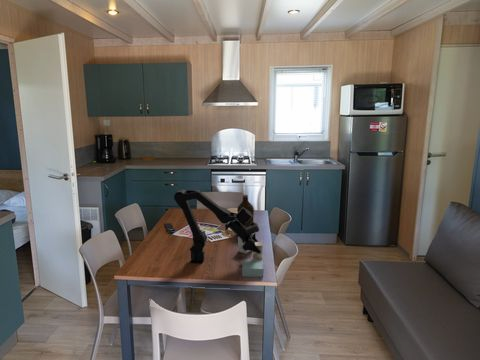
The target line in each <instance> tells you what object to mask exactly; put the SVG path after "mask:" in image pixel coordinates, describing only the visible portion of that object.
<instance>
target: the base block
mask: <svg viewBox="0 0 480 360" xmlns="http://www.w3.org/2000/svg"><path fill="white" fill-rule="evenodd" d="M242 261H243V262H242V266H241V275H242V277H255V278H256V277H259V278H260V277H261V278H262V277H264V260H253V259H243V260H242Z"/></svg>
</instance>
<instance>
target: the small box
mask: <svg viewBox="0 0 480 360" xmlns="http://www.w3.org/2000/svg"><path fill="white" fill-rule="evenodd" d="M253 234H254V233H253ZM237 245H238V246H237V251H238V252H239V253H242V254H248V253H250V252H251V251H250V250H246V251H245V250H244V249H243V247H242V246H243V242H242V240H241V239H240V238H239V237H237Z"/></svg>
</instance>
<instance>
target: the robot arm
mask: <svg viewBox="0 0 480 360" xmlns="http://www.w3.org/2000/svg"><path fill="white" fill-rule="evenodd" d="M173 199H174V201H175V203H176V204H177V205H178V207H179V208H180V209H181V210H182V213H183V215H184V218H185V220H186V222H187V224H188V226H189V230H190V232H191V235H192V242H193V243H192V244H191V246H190V248H189V251H190V261H189V262H190V264H191V263H192V264H202V263H203V262H204V261H205V255H206V253H205V251H204V247H205V246H206V244H207V241H208V236H207V234H206V231H205V230H203V231H202V230H201V228H200V227H199V224H198V222H197V219H196V217H195V214H194V212H193V210H192V208H191V205H190V201H191V200H197V201H198V202H199V203H201V205H203V206H205V207H206V208H207V209H209V211H211V212H212V213H213V214H214V215H215V217H216V218H217V220H219V222H220V223H221V224H224V227H225V228H224V229H225V231H227V230H228V229H230V230H231V231H232V232H233V233H234V234H235V236H236V238H238V237H239V238H240V239H241V240H242V242H243V246H242V247H243V249H244V250H245V251H246V250H250V252H252V253H253V252H256V253H259V254H260V253H261V251H260V250H259V249H258V247H257V246H256V245H255V242H259V241H258V239H257V238H256V233H258V232H260V227H259V224H258V223H257V222H255V221H253V222H251V226H249V227H246V226H243V225H242V224H243V223H244V224H245V223H246V222H247V221H248V220H250V219H251V218H252V217H253V218H254V215H252V214H251V212H250V211H249V210H247V209H245V208H244V207H243V208H242V209H241V210H240V211H239V212H238V213H237V212H233V211H230V210H229V209H227V208H225V207H223V206H220V205H218V204H217V203H216V202H215V201H213V200H212V199H211V198H210V197H208V196H207V195H205V194H204V193H203V192H202V191H201V190H199V189H195V190H194V189H193V190H192V189H184V188H183V189H179V190H177V191H176V192H175V193H174V195H173ZM253 233H254V234H253Z"/></svg>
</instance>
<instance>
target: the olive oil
mask: <svg viewBox="0 0 480 360" xmlns="http://www.w3.org/2000/svg"><path fill="white" fill-rule="evenodd" d="M243 207H244V208H245V209H247V210H249V211H250V212H251V214H252V215H253V217H252V218H251V219H250V220H248V221H247V222H246V223H245V224H244V223H243V224H242V225H243V226H246V227H249V226H251V222H254V214H255V210H254V206H253V205H252V203H251V202H250V201H249V196H248V194H243V195H242V201H241V203H239V204H238V206H237V208H236V209H237V211H236V213H238V212H239V211H240V210H241V209H242V208H243Z"/></svg>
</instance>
